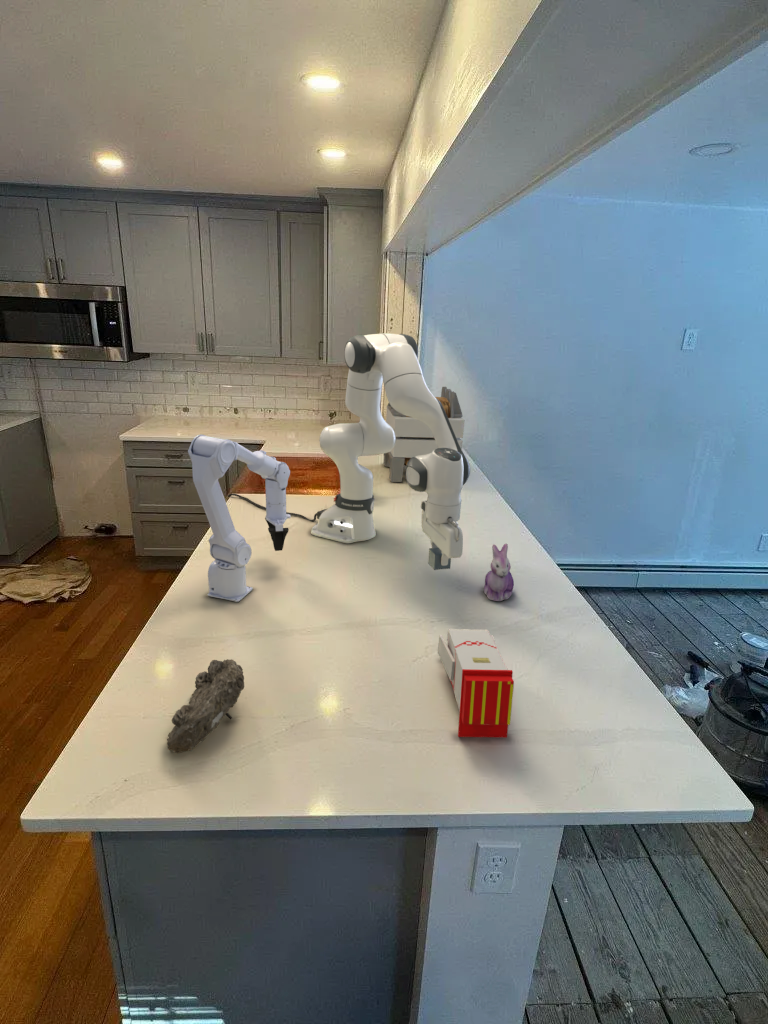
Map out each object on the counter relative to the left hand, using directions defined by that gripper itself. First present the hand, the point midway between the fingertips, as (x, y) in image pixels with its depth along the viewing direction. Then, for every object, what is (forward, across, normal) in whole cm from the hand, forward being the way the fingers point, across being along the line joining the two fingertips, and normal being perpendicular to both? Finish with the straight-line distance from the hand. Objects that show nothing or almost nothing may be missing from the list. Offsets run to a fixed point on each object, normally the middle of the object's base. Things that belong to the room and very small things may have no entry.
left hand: (277, 545), depth 167 cm
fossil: (+8, -63, +20) cm, 66 cm away
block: (-3, -28, -40) cm, 49 cm away
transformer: (+8, +92, -79) cm, 122 cm away
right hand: (-4, -28, -40) cm, 49 cm away
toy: (+8, -67, -32) cm, 75 cm away
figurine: (+8, -29, -58) cm, 66 cm away
